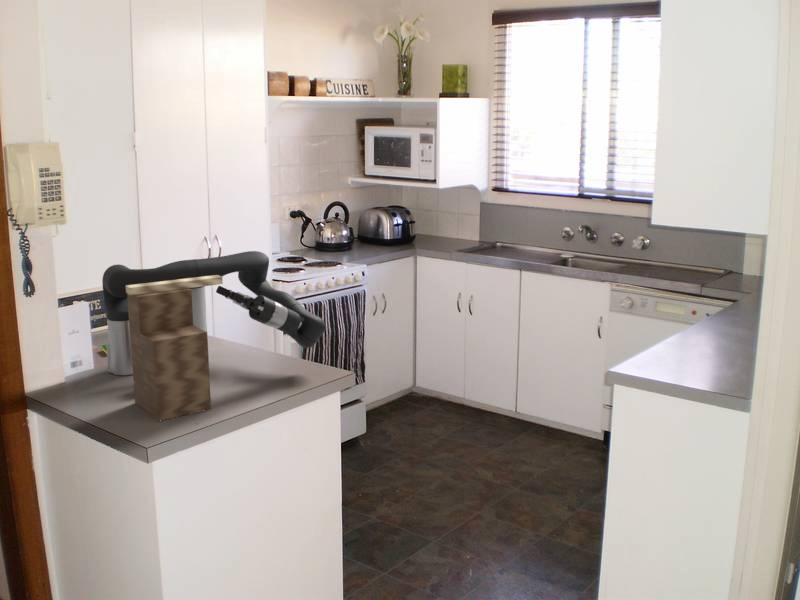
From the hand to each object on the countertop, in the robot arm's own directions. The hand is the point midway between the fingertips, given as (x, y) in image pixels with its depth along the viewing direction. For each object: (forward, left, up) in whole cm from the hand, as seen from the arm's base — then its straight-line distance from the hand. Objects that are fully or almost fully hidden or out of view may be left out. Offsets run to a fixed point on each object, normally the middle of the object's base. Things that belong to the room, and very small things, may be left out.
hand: (224, 291), depth 244 cm
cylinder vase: (-27, +29, -29) cm, 49 cm away
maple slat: (-9, -11, +3) cm, 15 cm away
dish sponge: (-49, +27, -30) cm, 64 cm away
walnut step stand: (-9, -17, -29) cm, 35 cm away
